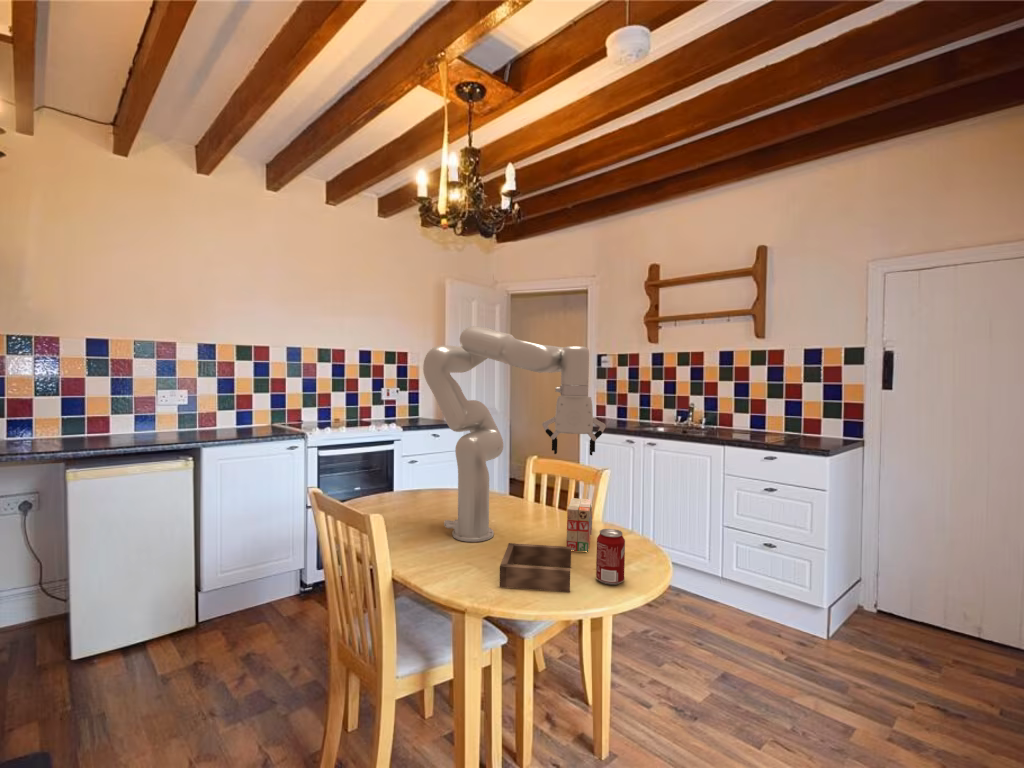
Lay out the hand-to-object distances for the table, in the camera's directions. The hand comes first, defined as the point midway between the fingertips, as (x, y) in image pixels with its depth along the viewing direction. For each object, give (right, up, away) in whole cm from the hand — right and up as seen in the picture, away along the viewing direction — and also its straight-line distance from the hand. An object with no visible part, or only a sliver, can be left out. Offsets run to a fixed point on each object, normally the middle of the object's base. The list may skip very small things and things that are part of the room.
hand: (573, 454), depth 141 cm
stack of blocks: (+4, -28, +15) cm, 32 cm away
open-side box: (-11, -29, -13) cm, 33 cm away
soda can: (+7, -29, -15) cm, 34 cm away
